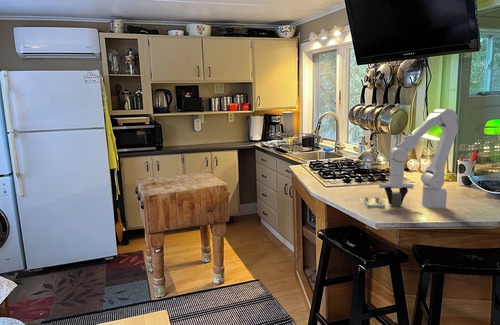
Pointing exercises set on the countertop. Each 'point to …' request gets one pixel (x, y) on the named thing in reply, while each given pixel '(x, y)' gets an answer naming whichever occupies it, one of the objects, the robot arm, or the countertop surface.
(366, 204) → the holder
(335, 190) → the countertop surface
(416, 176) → the countertop surface
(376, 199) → the clip
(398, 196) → the plug
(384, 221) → the countertop surface
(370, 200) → the board
